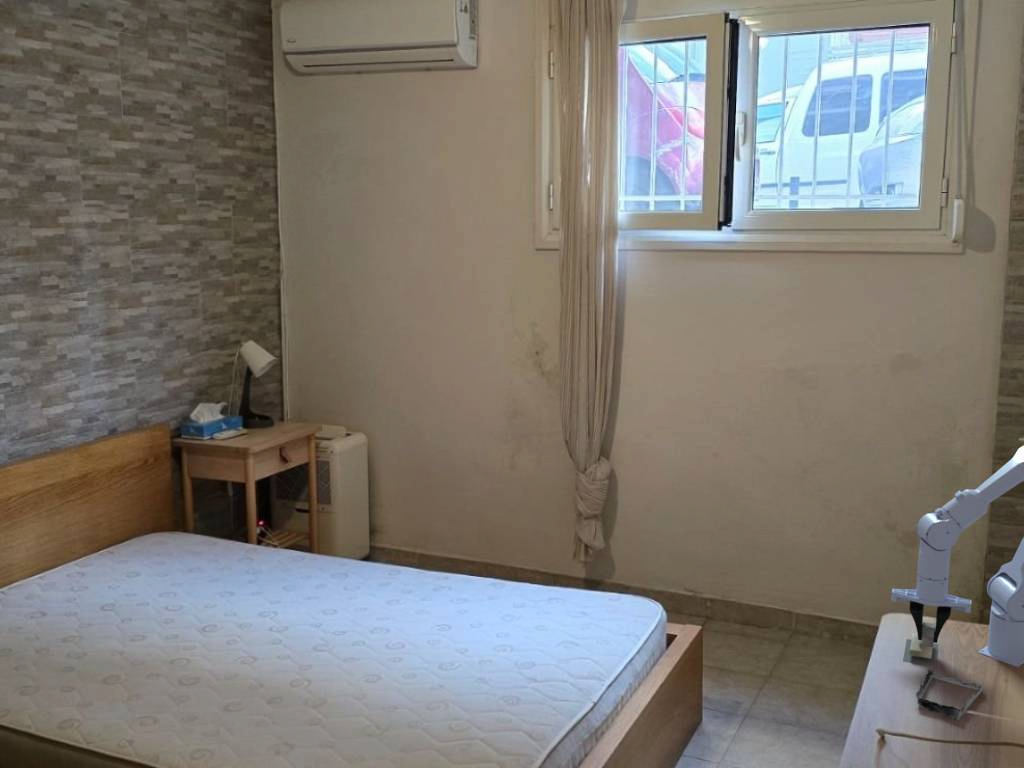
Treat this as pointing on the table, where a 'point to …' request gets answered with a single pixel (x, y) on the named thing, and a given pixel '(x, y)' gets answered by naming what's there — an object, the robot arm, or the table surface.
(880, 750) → the table surface
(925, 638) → the scraper
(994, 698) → the table surface
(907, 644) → the rest mat
